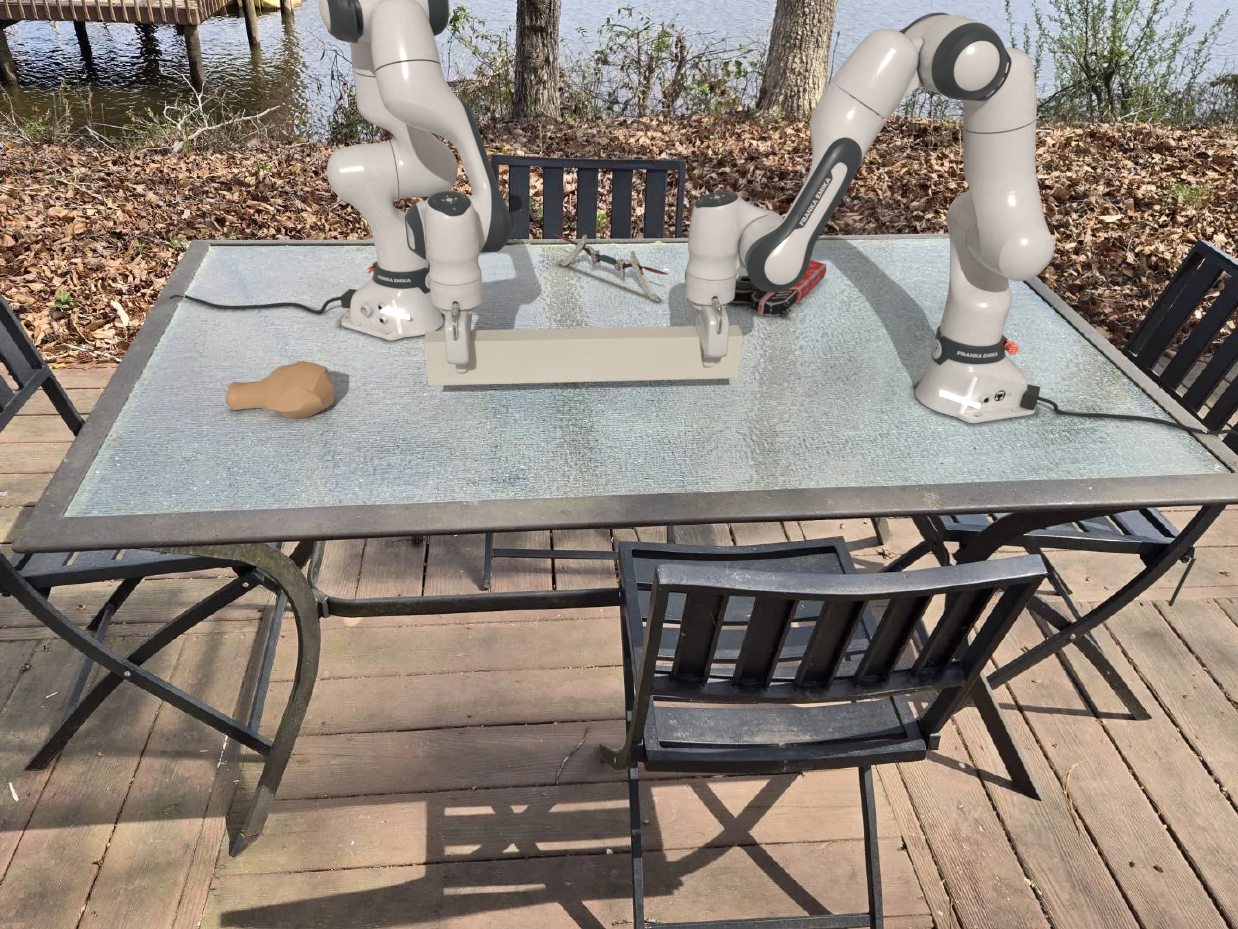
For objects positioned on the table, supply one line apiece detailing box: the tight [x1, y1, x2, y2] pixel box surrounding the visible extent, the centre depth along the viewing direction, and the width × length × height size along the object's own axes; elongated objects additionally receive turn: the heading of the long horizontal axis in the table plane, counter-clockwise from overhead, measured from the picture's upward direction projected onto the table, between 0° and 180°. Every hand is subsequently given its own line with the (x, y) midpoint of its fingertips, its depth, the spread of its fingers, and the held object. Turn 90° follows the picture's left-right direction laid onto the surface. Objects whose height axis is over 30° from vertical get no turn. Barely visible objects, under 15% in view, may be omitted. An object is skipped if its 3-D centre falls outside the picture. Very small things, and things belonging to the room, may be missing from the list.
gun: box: [729, 259, 827, 318], centre depth 215 cm, size 4×31×19 cm
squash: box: [225, 360, 335, 420], centre depth 161 cm, size 11×20×9 cm, turn 90°
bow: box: [552, 233, 669, 302], centre depth 216 cm, size 39×2×10 cm, turn 47°
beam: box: [423, 324, 744, 387], centre depth 160 cm, size 57×5×9 cm, turn 95°
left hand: (462, 362), depth 158 cm, fingers closed on beam, 4 cm apart
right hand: (704, 357), depth 162 cm, fingers closed on beam, 4 cm apart
